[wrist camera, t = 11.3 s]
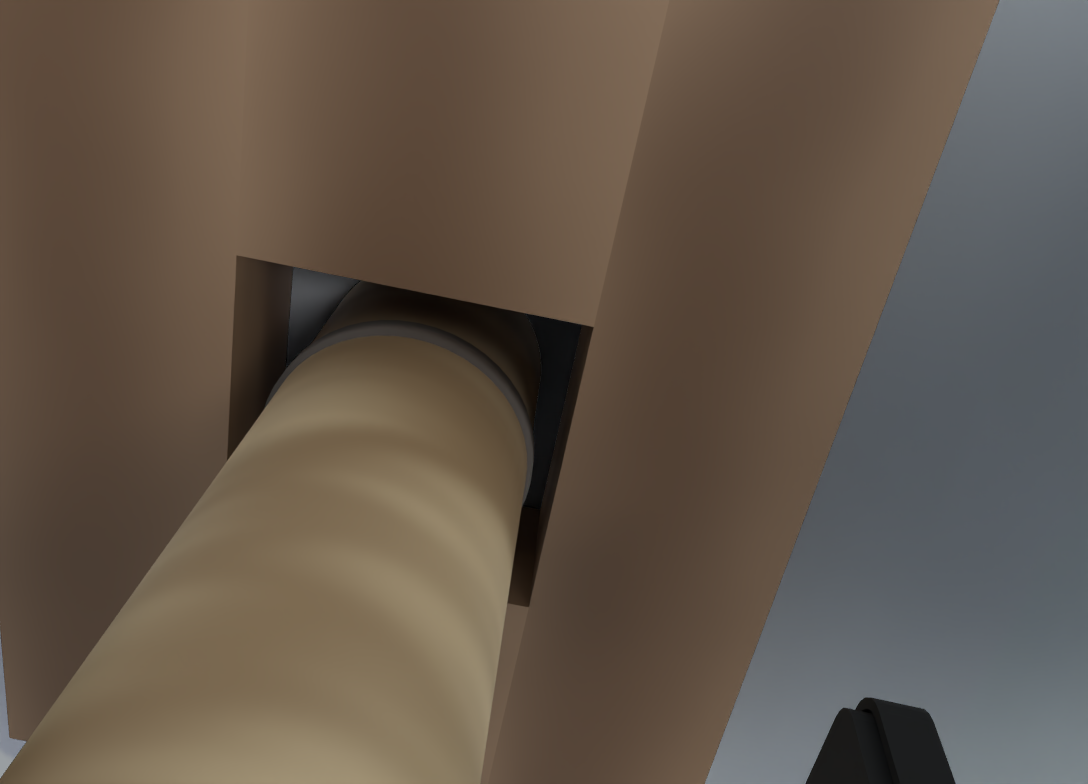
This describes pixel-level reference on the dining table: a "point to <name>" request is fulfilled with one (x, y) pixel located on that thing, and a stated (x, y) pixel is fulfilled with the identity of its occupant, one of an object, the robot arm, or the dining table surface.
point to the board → (465, 298)
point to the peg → (328, 573)
